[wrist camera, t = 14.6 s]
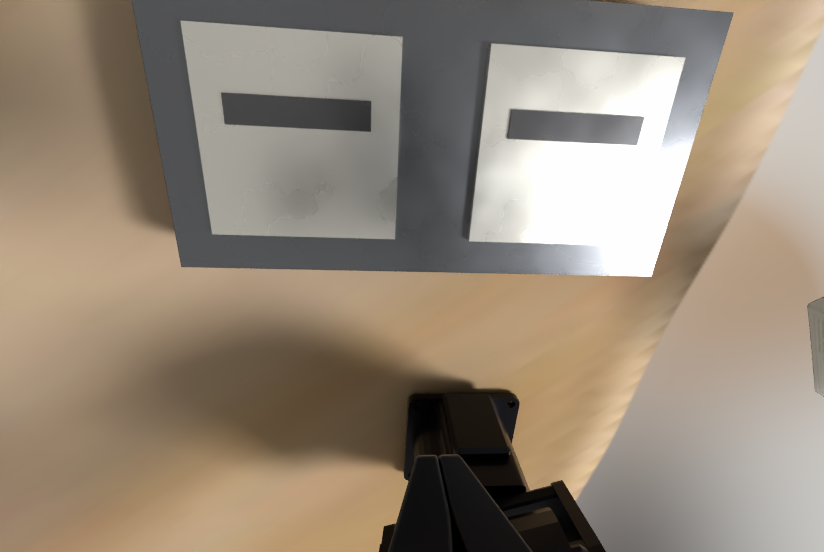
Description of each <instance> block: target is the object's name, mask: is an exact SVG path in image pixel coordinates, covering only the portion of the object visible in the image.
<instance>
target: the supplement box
mask: <svg viewBox="0 0 824 552" xmlns="http://www.w3.org/2000/svg"><path fill="white" fill-rule="evenodd" d="M807 307H808V316H809V326H810V338H811V349H812V360H813V373H814V383H815V391H816V392H817V393H819V394H820V395H822V396H823V397H824V297H822V298H820V299H817V300H815V301H813V302H811V303H809V304H808V306H807Z"/></svg>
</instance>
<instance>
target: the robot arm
mask: <svg viewBox="0 0 824 552" xmlns="http://www.w3.org/2000/svg"><path fill="white" fill-rule="evenodd" d="M510 401H512V402H511V403H508V402H510ZM415 402H420V403H419V404H414V403H415ZM518 409H519V400H518V398H517V396H516V395H515V394H512V393H468V394H413V395H412V396H410V397H409V399H408V407H407V423H406V439H405V455H404V478H405V479H406V480H408V481H409V482H408V485H407V489H406V492H405V495H404V499H403V502H402V506H401V509H400V512H399V516H398V519H397V522H396V524H391V525H388V526H384V529H383V537H382V544H380V548H379V552H606V551H605V550H604V548H603V546H602V544H601V543H600V541H599V540H598V538H597V536H596V534H595V533H594V531H593V530H592V528H591V527H590V525H589V523H588V522H587V520H586V518H585V517H584V515H583V513H582V512H581V510H580V508H579V507H578V505H577V504H576V502H575V500H574V499H573V497H572V495H571V494H570V492H569V491H568V489H567V487H566V486H565V484H564V482H563V481H562V480H561V481H557V482H553V483H551V485H550V486H547V487H543V488H539V489H535V490H531V491H530V490H529V487H528V485H527V482H526V480H525V477H524V475H523V472H522V469H521V467H520V464H519V462H518V459H517V457H516V454H515V451H514V449H513V446H512V439H513V434H514V429H515V424H516V419H517V414H518Z"/></svg>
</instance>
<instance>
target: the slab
mask: <svg viewBox="0 0 824 552" xmlns="http://www.w3.org/2000/svg"><path fill="white" fill-rule="evenodd" d="M132 4H133V10H134V15H135V20H136V26H137V31H138V37H139V42H140V47H141V53H142V58H143V63H144V69H145V74H146V80H147V85H148V90H149V96H150V101H151V106H152V112H153V117H154V122H155V128H156V133H157V139H158V144H159V149H160V155H161V160H162V165H163V171H164V176H165V181H166V187H167V192H168V198H169V203H170V208H171V214H172V219H173V224H174V230H175V235H176V240H177V246H178V251H179V257H180V262H181V267H210V268H259V269H308V270H358V271H407V272H456V273H506V274H555V275H604V276H651V275H652V272H653V269H654V266H655V262H656V259H657V256H658V253H659V250H660V247H661V243H662V240H663V237H664V234H665V231H666V227H667V224H668V221H669V218H670V215H671V211H672V208H673V205H674V202H675V199H676V195H677V192H678V189H679V186H680V183H681V179H682V176H683V173H684V170H685V167H686V163H687V160H688V157H689V154H690V151H691V147H692V144H693V141H694V138H695V135H696V132H697V128H698V125H699V122H700V119H701V116H702V112H703V109H704V106H705V103H706V100H707V96H708V93H709V90H710V87H711V84H712V80H713V77H714V74H715V71H716V68H717V64H718V61H719V58H720V55H721V52H722V48H723V45H724V42H725V39H726V36H727V32H728V29H729V26H730V23H731V20H732V16H733V13H732V12H720V11H708V10H697V9H685V8H673V7H661V6H650V5H638V4H626V3H614V2H603V1H591V0H132Z"/></svg>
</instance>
